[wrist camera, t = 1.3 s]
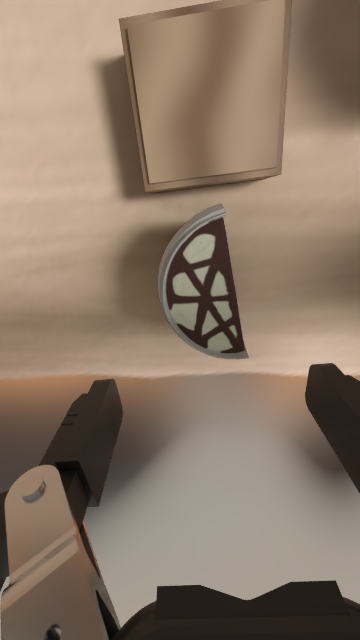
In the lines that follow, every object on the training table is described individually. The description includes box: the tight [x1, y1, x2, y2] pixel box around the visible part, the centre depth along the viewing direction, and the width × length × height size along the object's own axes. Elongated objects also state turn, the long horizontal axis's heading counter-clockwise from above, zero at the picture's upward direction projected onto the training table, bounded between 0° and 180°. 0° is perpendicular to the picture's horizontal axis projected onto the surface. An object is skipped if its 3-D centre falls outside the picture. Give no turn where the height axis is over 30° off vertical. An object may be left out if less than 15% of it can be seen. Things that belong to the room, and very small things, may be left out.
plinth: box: [119, 0, 292, 193], centre depth 19 cm, size 11×10×4 cm
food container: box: [158, 203, 249, 359], centre depth 23 cm, size 12×6×10 cm, turn 14°
